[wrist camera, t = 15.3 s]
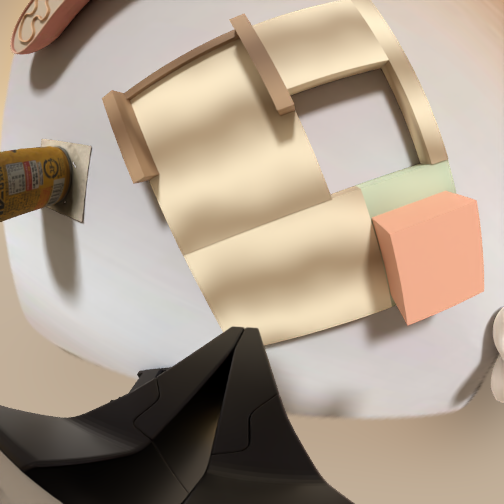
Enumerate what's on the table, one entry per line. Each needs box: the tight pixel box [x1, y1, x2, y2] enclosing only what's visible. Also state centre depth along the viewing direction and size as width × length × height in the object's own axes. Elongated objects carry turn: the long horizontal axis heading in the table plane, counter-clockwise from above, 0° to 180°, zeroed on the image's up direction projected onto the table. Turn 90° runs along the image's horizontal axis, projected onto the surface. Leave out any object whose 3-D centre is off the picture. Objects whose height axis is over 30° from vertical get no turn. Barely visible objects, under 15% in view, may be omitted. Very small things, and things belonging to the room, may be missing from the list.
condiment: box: [0, 139, 91, 222], centre depth 16 cm, size 7×8×12 cm
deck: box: [130, 0, 456, 345], centre depth 17 cm, size 22×20×2 cm
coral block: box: [372, 191, 484, 326], centre depth 14 cm, size 6×6×4 cm
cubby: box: [102, 14, 295, 184], centre depth 15 cm, size 7×11×2 cm, turn 113°
